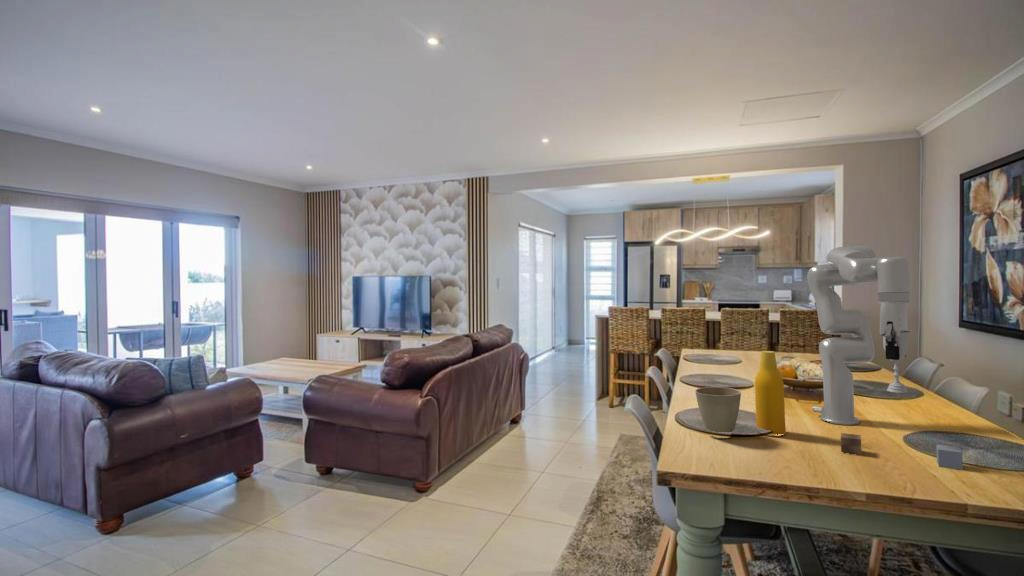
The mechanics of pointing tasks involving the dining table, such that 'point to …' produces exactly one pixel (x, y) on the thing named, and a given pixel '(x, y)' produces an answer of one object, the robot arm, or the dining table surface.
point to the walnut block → (851, 443)
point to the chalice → (903, 348)
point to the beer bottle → (769, 395)
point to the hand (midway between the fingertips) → (895, 357)
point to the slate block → (949, 457)
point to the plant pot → (718, 407)
